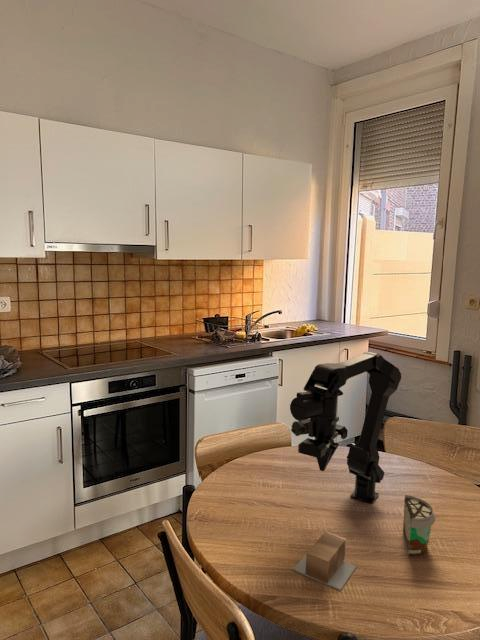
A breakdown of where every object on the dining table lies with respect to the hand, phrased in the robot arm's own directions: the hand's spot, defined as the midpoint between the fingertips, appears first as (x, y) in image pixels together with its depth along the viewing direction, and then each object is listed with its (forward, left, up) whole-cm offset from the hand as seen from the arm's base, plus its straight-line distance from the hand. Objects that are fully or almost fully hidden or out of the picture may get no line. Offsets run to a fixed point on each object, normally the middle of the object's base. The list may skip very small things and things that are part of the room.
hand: (322, 470), depth 125 cm
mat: (+19, +10, -13) cm, 25 cm away
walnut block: (+14, +10, -10) cm, 20 cm away
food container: (-2, +25, -13) cm, 28 cm away
